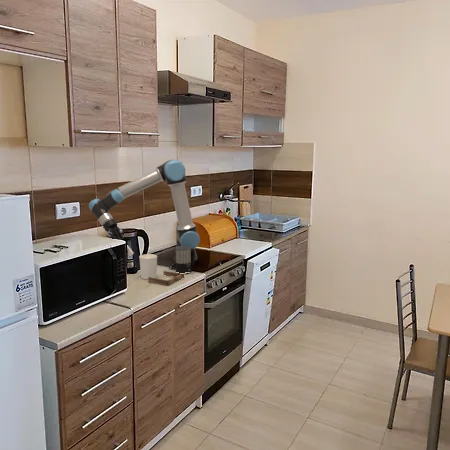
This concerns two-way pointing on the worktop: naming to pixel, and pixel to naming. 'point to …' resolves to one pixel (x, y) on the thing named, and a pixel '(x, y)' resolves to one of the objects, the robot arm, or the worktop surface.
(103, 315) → the worktop surface
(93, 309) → the worktop surface
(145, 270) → the candle holder
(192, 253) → the milk frother
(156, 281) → the walnut bay
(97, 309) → the worktop surface
